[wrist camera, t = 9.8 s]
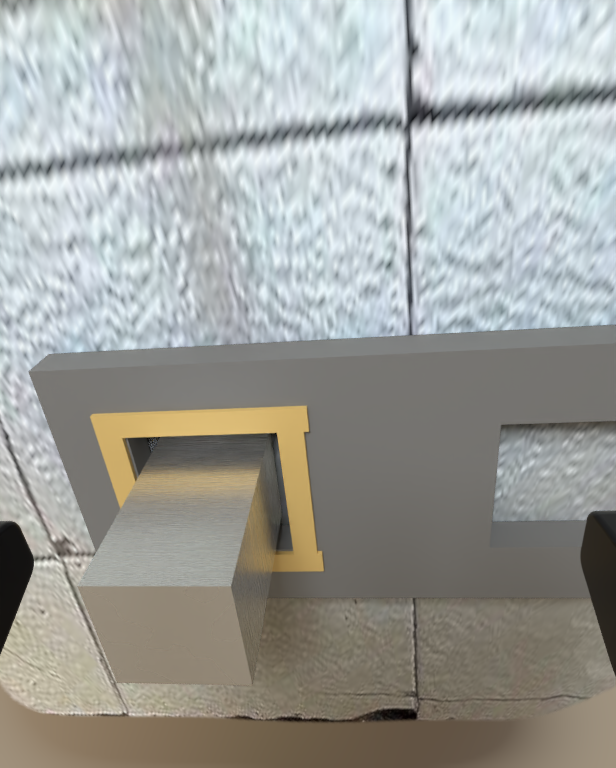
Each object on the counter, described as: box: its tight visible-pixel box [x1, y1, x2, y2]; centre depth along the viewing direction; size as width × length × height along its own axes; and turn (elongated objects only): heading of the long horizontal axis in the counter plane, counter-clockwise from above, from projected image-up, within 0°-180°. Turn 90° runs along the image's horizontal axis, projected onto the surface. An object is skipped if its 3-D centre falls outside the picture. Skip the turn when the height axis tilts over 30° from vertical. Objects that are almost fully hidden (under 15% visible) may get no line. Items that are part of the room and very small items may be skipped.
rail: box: [29, 325, 616, 598], centre depth 22 cm, size 26×12×2 cm, turn 95°
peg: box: [78, 433, 282, 685], centre depth 20 cm, size 4×4×8 cm
